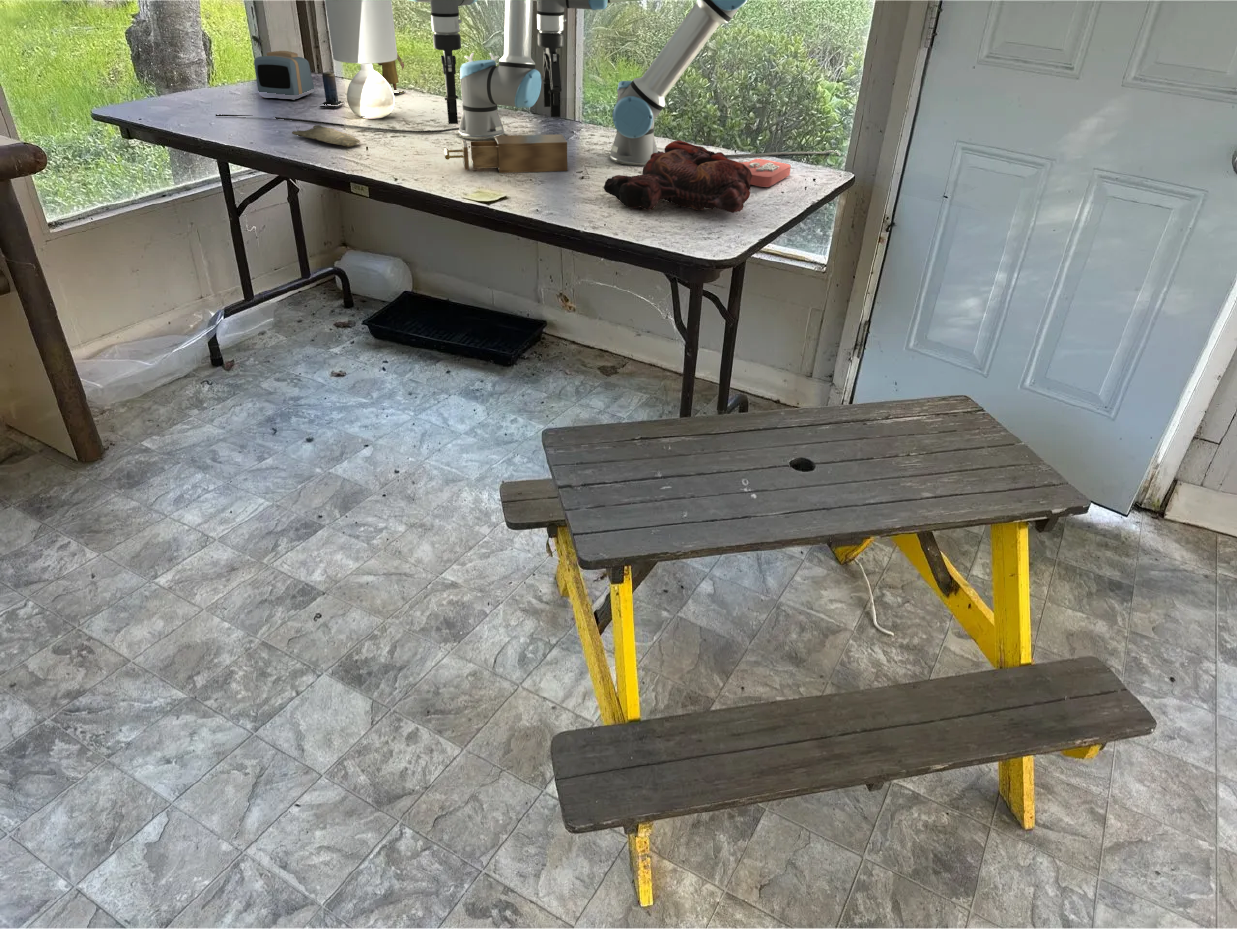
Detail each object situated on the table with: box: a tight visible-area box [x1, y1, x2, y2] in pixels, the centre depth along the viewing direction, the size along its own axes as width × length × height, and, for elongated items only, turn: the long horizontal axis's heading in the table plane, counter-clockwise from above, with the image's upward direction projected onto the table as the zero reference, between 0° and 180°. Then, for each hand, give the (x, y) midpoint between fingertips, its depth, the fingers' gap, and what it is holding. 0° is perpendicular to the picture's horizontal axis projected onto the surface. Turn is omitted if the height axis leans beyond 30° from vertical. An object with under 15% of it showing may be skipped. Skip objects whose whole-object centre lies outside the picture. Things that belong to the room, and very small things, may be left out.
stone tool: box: [291, 124, 361, 147], centre depth 276 cm, size 11×3×25 cm
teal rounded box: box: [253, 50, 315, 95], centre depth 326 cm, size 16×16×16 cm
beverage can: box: [319, 71, 345, 110], centre depth 314 cm, size 9×8×12 cm
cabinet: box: [494, 133, 568, 174], centre depth 255 cm, size 20×10×8 cm, turn 102°
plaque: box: [739, 158, 792, 188], centre depth 254 cm, size 18×4×15 cm
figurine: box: [377, 52, 405, 96], centre depth 332 cm, size 11×9×30 cm
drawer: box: [443, 139, 499, 171], centre depth 253 cm, size 25×9×6 cm, turn 102°
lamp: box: [324, 0, 398, 120], centre depth 295 cm, size 22×22×40 cm
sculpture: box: [603, 139, 752, 214], centre depth 228 cm, size 43×30×13 cm
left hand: (453, 123), depth 246 cm, fingers closed
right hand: (552, 111), depth 250 cm, fingers open, 13 cm apart
